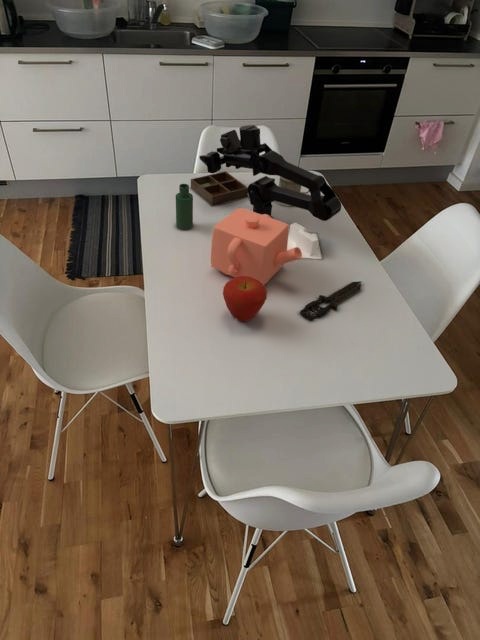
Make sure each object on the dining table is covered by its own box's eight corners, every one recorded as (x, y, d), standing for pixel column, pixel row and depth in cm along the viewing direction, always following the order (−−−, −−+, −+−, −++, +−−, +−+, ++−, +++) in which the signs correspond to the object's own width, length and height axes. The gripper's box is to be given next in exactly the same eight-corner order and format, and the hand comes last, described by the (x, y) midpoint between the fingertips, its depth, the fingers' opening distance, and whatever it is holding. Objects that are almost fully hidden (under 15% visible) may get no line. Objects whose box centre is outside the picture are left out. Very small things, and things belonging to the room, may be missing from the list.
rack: (247, 196, 186) (248, 187, 184) (212, 206, 179) (212, 196, 177) (225, 179, 195) (225, 171, 193) (190, 188, 188) (190, 179, 186)
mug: (269, 198, 186) (272, 167, 178) (287, 191, 191) (291, 161, 183) (297, 214, 179) (302, 183, 171) (316, 206, 184) (321, 176, 176)
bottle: (195, 227, 167) (195, 187, 158) (181, 231, 165) (180, 191, 155) (187, 220, 171) (187, 180, 161) (173, 224, 168) (172, 184, 159)
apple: (271, 316, 136) (276, 281, 128) (246, 336, 129) (249, 300, 121) (239, 298, 141) (242, 263, 133) (213, 317, 134) (215, 280, 126)
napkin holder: (322, 258, 158) (325, 243, 155) (286, 257, 158) (289, 241, 154) (316, 233, 170) (319, 218, 166) (283, 231, 169) (285, 216, 165)
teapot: (311, 270, 153) (321, 218, 142) (277, 309, 138) (285, 255, 127) (241, 243, 162) (244, 192, 150) (202, 277, 147) (203, 224, 135)
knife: (357, 281, 151) (358, 277, 150) (373, 292, 147) (374, 288, 146) (294, 310, 139) (295, 306, 138) (310, 323, 135) (311, 319, 134)
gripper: (258, 126, 168) (222, 122, 176) (223, 141, 156) (186, 136, 165) (261, 159, 174) (226, 154, 183) (227, 176, 163) (191, 170, 171)
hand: (208, 153), depth 175 cm, fingers open, 9 cm apart
